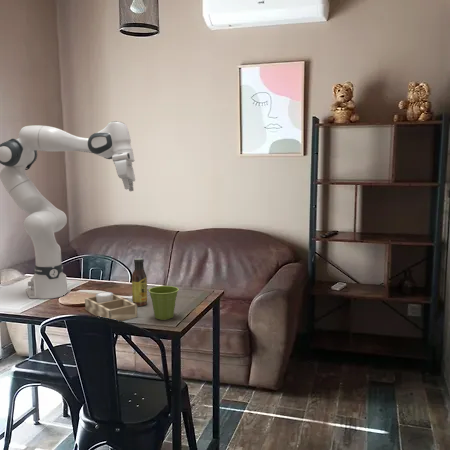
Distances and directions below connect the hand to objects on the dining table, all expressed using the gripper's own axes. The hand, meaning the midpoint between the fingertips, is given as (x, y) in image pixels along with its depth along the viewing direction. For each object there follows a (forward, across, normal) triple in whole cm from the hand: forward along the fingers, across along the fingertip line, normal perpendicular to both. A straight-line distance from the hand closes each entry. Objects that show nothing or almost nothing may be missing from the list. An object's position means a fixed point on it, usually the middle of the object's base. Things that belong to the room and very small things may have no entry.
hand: (129, 190), depth 216 cm
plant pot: (+54, +17, +7) cm, 57 cm away
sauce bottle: (+49, 0, -4) cm, 49 cm away
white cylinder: (+48, +8, -18) cm, 52 cm away
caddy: (+49, +12, -14) cm, 52 cm away
